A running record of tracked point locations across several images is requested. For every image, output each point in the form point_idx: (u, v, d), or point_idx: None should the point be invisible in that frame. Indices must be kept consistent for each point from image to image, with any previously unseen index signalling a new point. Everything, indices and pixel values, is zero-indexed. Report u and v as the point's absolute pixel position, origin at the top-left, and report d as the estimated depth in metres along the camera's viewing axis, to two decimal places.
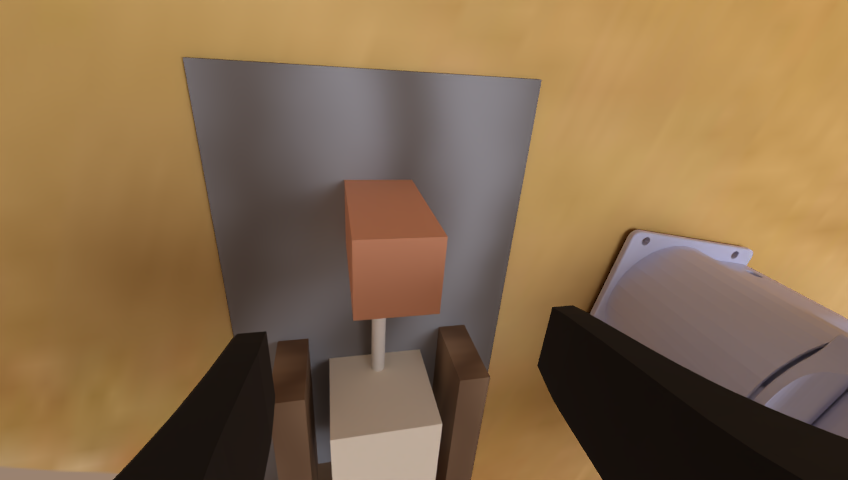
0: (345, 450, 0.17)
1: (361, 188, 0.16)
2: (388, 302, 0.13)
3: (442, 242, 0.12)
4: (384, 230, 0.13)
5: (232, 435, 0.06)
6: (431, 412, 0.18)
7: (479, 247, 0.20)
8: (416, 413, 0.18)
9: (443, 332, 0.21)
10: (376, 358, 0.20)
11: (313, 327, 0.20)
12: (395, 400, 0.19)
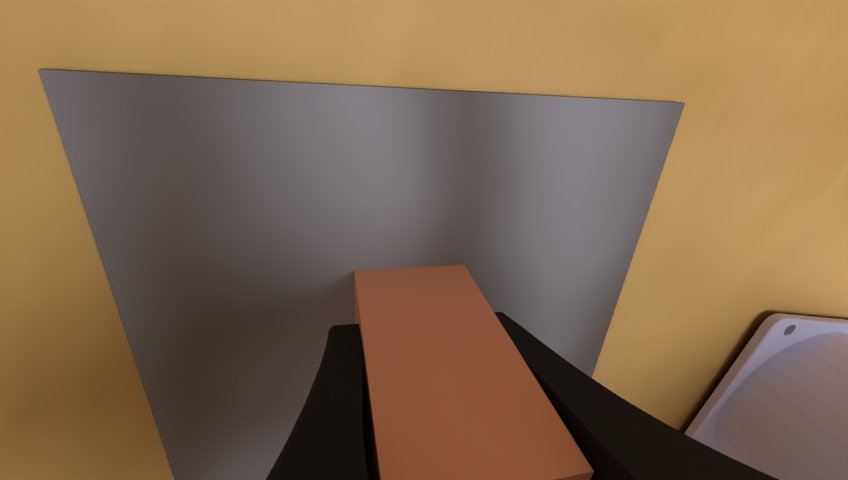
0: None
1: (385, 294, 0.09)
2: None
3: None
4: (452, 452, 0.06)
5: None
6: None
7: (557, 351, 0.13)
8: None
9: None
10: None
11: None
12: None
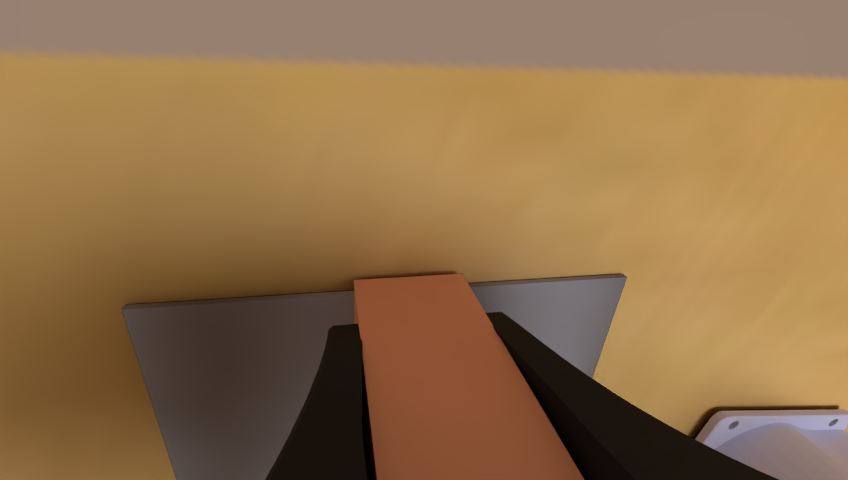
0: None
1: (384, 304, 0.09)
2: None
3: None
4: (448, 463, 0.06)
5: None
6: None
7: None
8: None
9: None
10: None
11: None
12: None
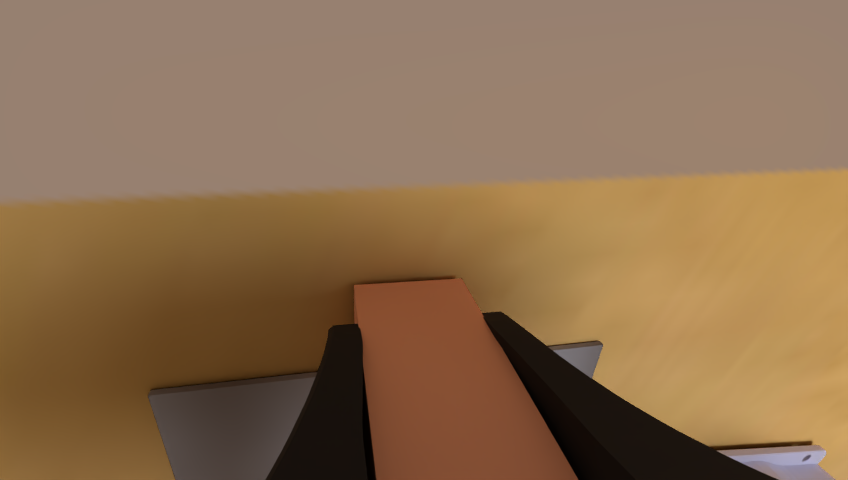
0: None
1: (384, 309, 0.09)
2: None
3: None
4: (447, 470, 0.06)
5: None
6: None
7: None
8: None
9: None
10: None
11: None
12: None
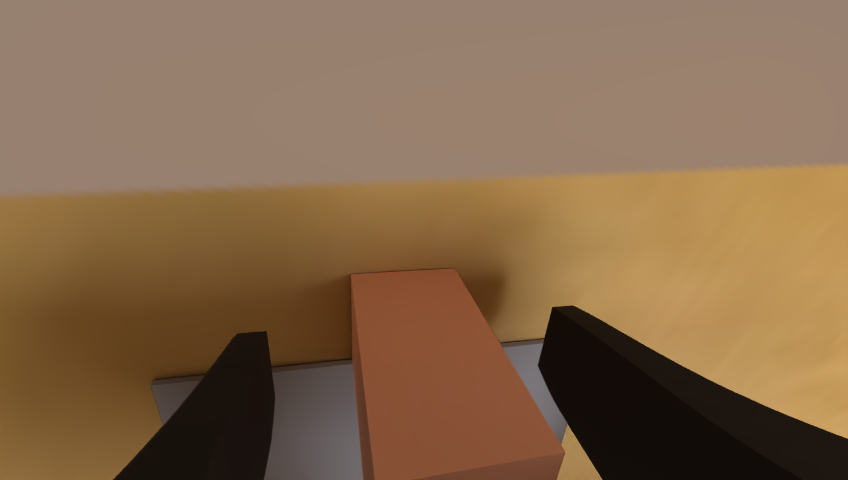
0: None
1: (379, 295, 0.10)
2: None
3: (553, 461, 0.06)
4: (436, 435, 0.06)
5: (232, 435, 0.06)
6: None
7: None
8: None
9: None
10: None
11: None
12: None
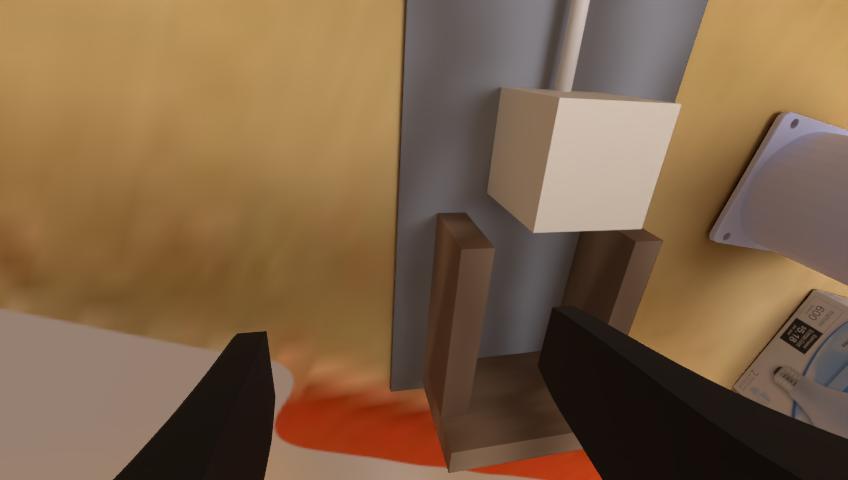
0: (571, 121, 0.14)
1: None
2: None
3: None
4: None
5: (233, 434, 0.06)
6: (659, 101, 0.15)
7: None
8: (643, 100, 0.15)
9: None
10: (568, 70, 0.17)
11: (472, 200, 0.20)
12: (607, 97, 0.15)
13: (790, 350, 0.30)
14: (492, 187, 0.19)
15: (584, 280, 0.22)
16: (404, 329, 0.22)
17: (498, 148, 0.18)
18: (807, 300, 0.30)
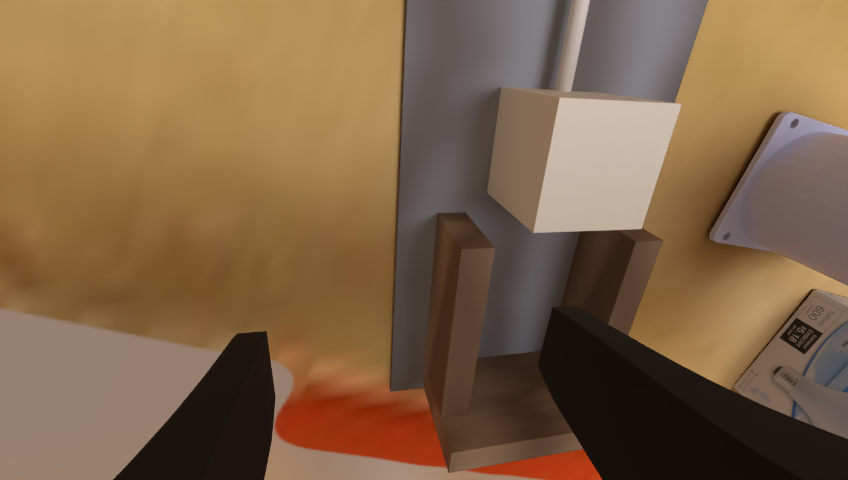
0: (571, 121, 0.14)
1: None
2: None
3: None
4: None
5: (233, 435, 0.06)
6: (659, 101, 0.15)
7: None
8: (643, 100, 0.15)
9: None
10: (568, 70, 0.17)
11: (472, 200, 0.20)
12: (608, 96, 0.15)
13: (790, 350, 0.30)
14: (492, 187, 0.19)
15: (584, 280, 0.22)
16: (404, 329, 0.22)
17: (498, 148, 0.18)
18: (807, 300, 0.30)
